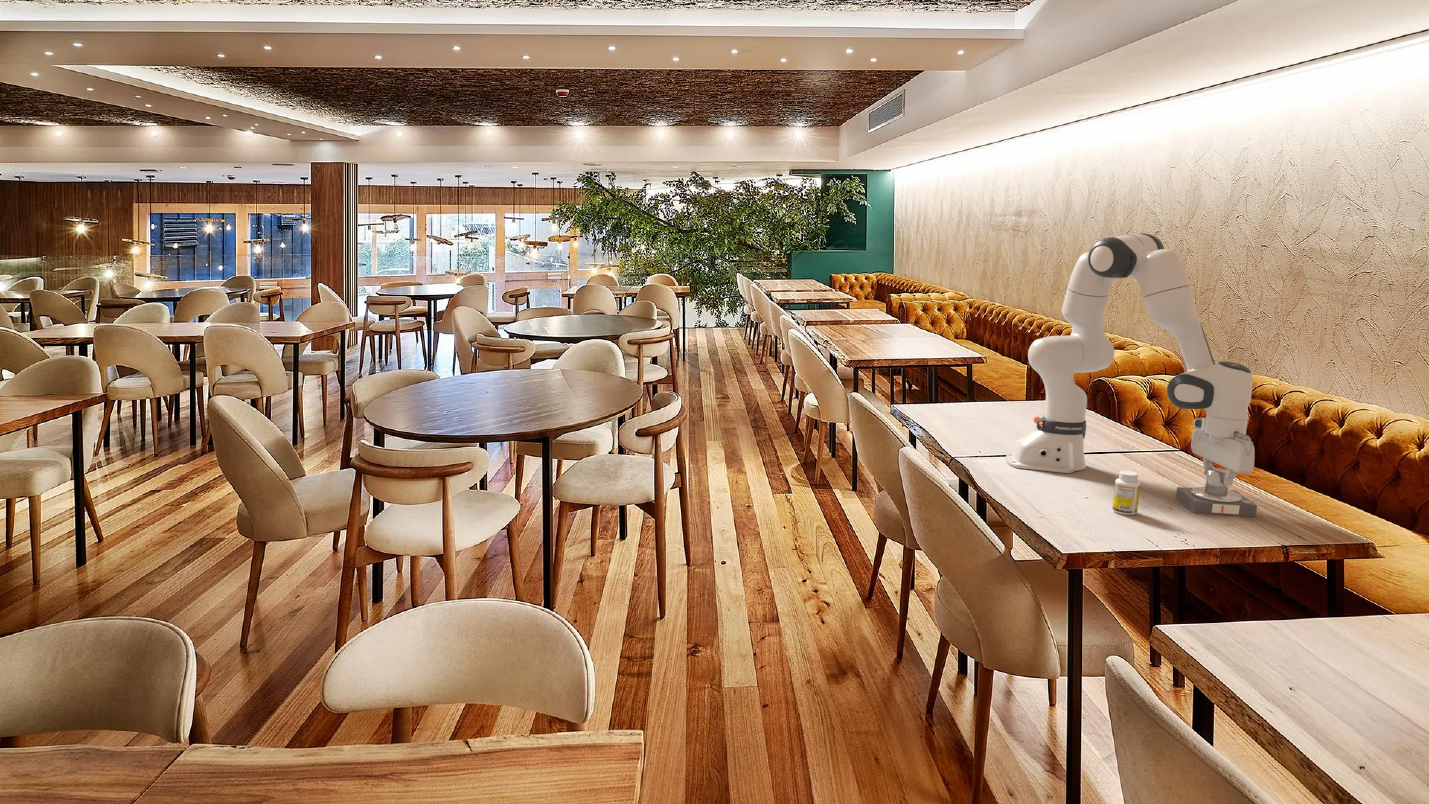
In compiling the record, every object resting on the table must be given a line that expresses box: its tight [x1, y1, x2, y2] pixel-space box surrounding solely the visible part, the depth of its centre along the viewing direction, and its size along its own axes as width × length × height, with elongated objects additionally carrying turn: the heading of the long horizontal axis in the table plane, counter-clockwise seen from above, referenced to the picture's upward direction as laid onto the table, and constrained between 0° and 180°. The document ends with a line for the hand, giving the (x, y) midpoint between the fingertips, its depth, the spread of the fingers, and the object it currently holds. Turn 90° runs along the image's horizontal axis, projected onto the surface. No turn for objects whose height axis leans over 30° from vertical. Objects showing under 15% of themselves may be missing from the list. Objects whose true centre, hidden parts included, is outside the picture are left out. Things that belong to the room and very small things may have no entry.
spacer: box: [1204, 467, 1230, 497], centre depth 205 cm, size 5×5×6 cm
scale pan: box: [1191, 486, 1242, 503], centre depth 206 cm, size 11×11×1 cm
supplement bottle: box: [1112, 470, 1141, 516], centre depth 201 cm, size 6×6×10 cm
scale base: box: [1175, 486, 1258, 518], centre depth 206 cm, size 14×12×3 cm
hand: (1217, 480), depth 205 cm, fingers open, 6 cm apart
